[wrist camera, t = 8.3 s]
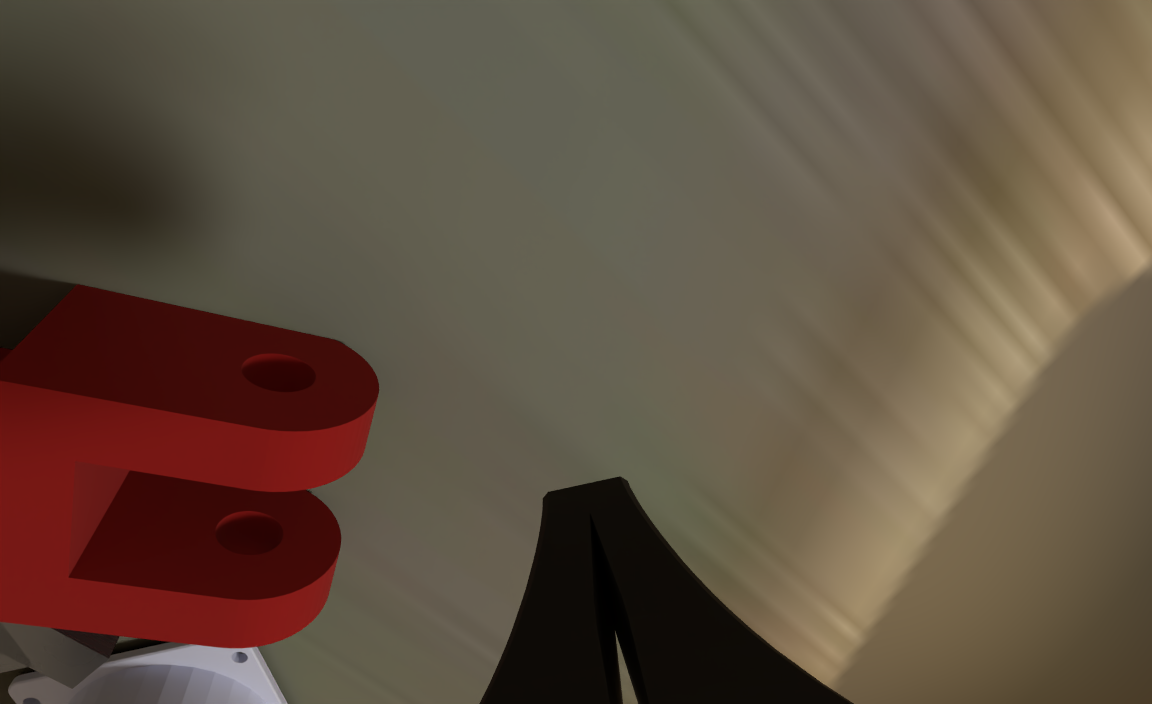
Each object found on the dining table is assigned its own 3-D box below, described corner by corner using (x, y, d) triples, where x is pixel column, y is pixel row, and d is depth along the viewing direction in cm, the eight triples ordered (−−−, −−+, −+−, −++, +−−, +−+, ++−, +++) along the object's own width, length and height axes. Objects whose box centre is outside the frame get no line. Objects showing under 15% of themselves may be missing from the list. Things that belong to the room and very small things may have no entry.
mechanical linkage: (386, 346, 24) (369, 448, 19) (340, 534, 27) (316, 659, 22) (-288, 200, 19) (-502, 288, 15) (-251, 442, 23) (-420, 572, 18)
